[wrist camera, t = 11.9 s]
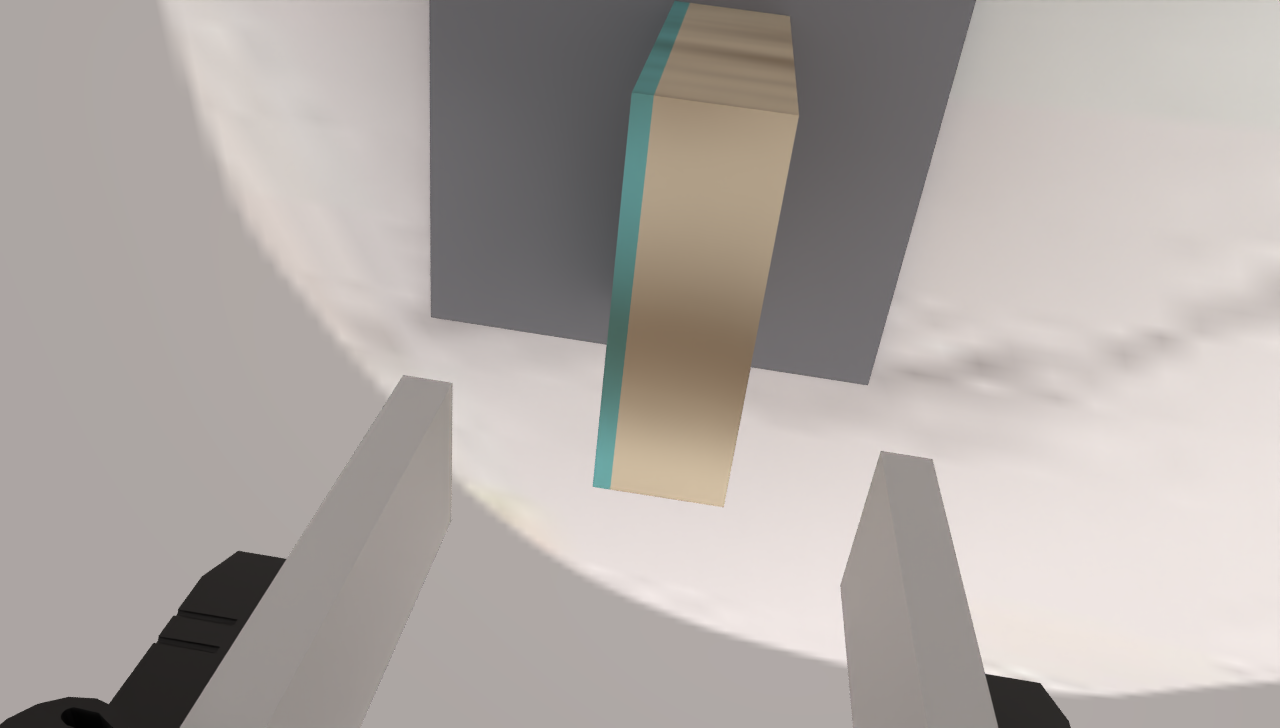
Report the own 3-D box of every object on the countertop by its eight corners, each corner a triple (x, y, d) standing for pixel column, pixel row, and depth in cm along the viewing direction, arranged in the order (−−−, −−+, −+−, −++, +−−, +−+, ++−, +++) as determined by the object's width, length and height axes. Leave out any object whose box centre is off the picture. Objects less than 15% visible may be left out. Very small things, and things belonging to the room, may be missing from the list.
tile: (674, 1, 25) (632, 92, 17) (789, 16, 25) (799, 115, 17) (639, 306, 29) (592, 486, 22) (735, 320, 29) (723, 507, 22)
